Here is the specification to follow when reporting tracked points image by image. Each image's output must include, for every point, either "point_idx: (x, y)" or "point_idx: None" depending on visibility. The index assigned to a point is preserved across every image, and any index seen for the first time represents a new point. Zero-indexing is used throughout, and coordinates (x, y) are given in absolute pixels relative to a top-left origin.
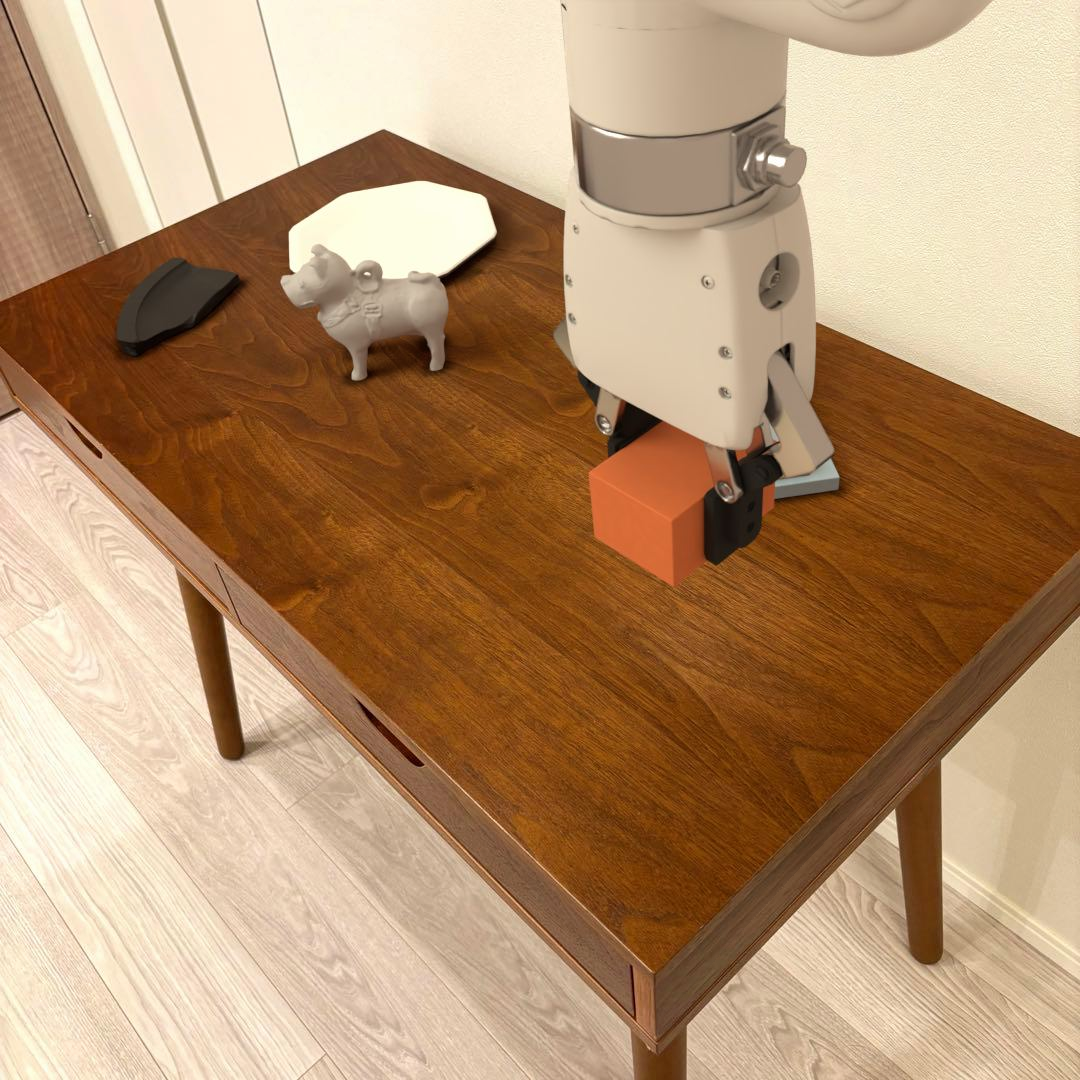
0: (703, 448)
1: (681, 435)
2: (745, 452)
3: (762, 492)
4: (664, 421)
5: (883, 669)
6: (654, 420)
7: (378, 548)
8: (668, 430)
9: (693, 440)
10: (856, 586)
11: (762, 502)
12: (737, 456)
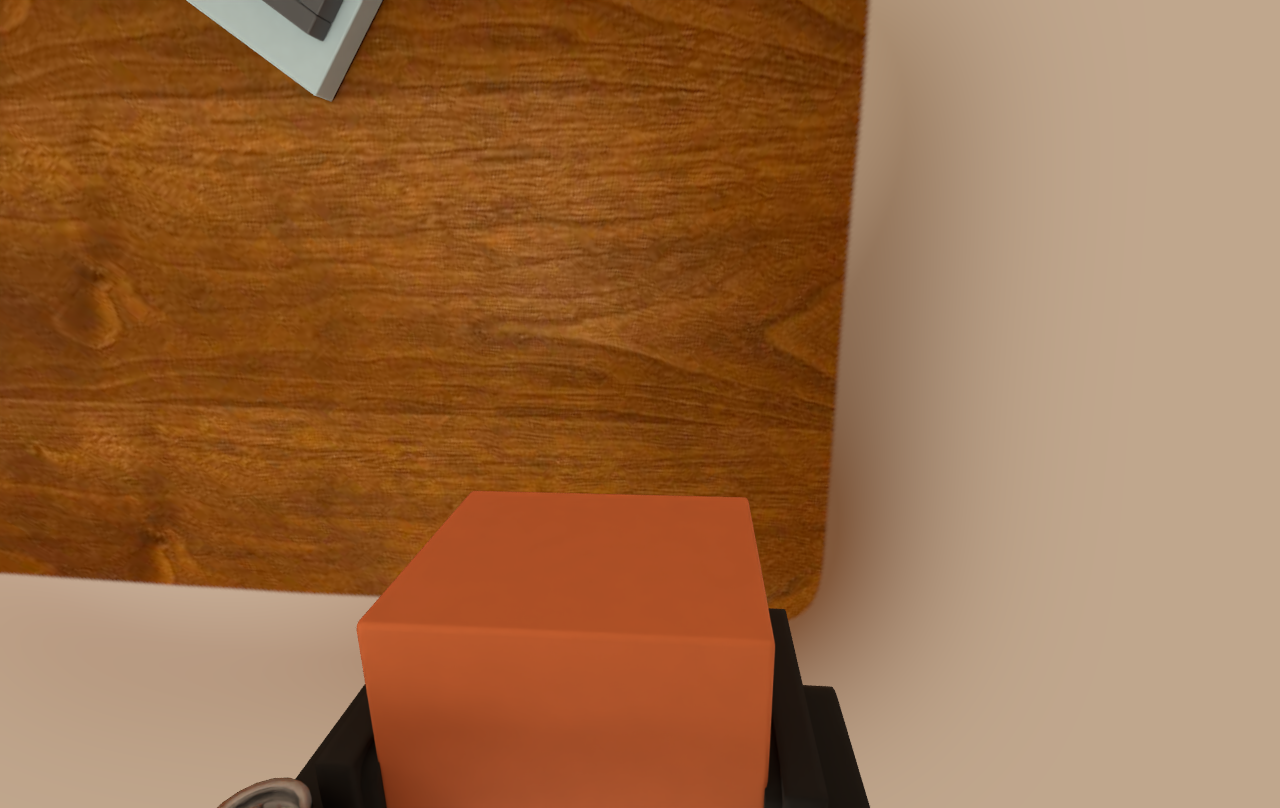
0: (593, 806)
1: (488, 796)
2: (722, 753)
3: (867, 804)
4: (388, 770)
5: (782, 134)
6: (363, 793)
7: (138, 446)
8: (435, 795)
9: (536, 791)
10: (653, 11)
11: (856, 765)
12: (712, 778)
